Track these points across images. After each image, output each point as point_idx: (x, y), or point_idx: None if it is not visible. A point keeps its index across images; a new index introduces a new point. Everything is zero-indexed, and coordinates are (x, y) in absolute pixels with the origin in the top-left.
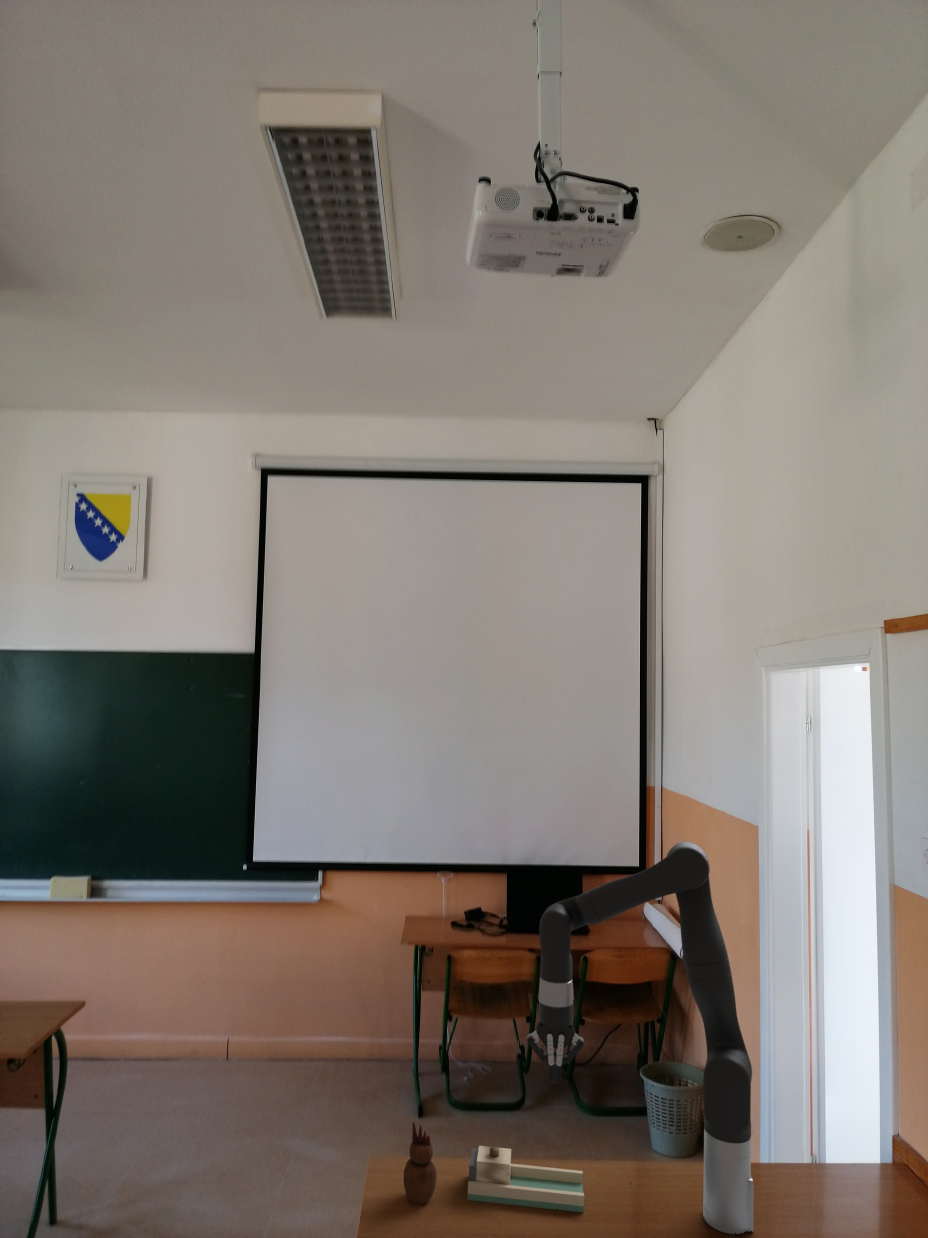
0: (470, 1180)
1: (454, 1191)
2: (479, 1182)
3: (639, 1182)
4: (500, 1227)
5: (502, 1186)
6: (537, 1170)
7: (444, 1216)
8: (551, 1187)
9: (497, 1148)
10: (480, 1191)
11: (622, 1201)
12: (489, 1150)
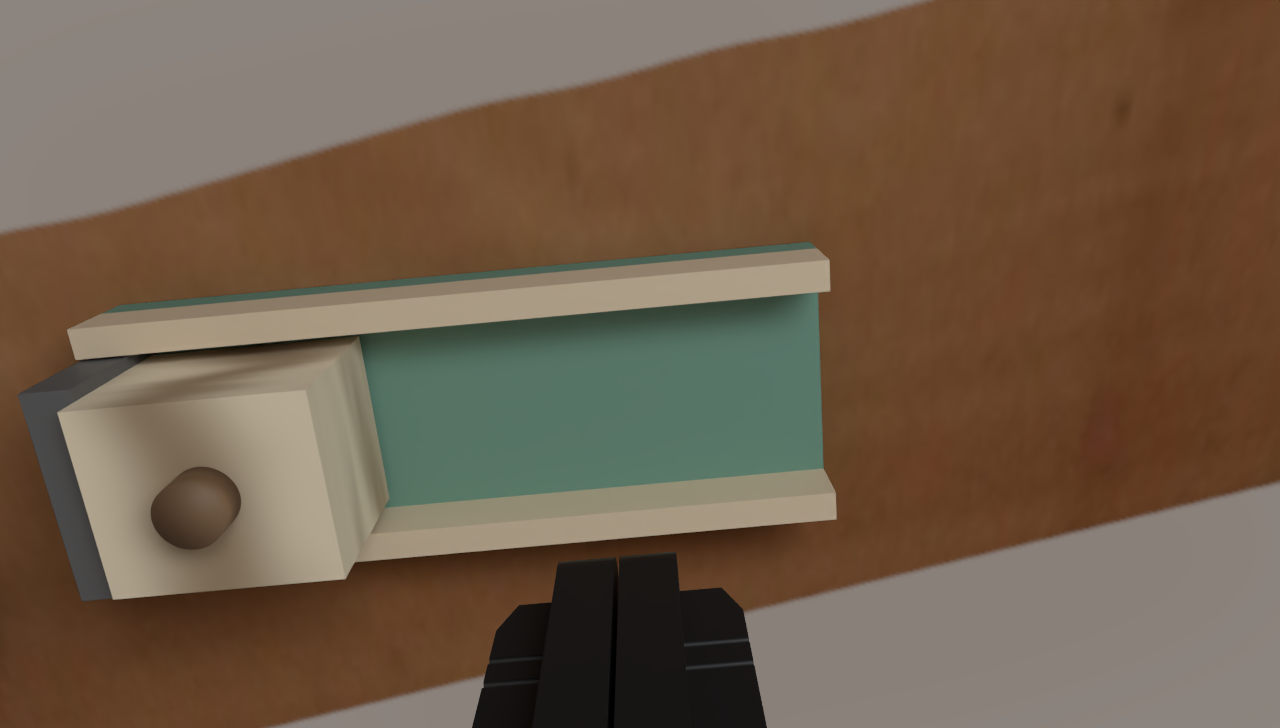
0: None
1: None
2: None
3: (1184, 86)
4: (408, 687)
5: None
6: (524, 318)
7: (117, 681)
8: (627, 371)
9: (206, 508)
10: None
11: (1044, 319)
12: (152, 455)
